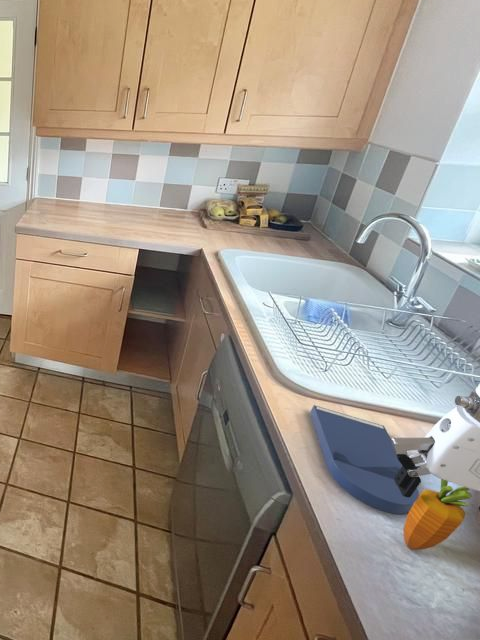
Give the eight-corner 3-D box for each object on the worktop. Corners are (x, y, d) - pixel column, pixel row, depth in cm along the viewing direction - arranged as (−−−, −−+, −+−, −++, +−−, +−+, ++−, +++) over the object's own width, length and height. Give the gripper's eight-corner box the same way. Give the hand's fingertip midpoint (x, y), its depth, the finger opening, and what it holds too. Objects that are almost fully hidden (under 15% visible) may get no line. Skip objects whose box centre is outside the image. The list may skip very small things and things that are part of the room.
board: (378, 434, 87) (384, 425, 86) (425, 526, 69) (433, 516, 68) (309, 413, 92) (313, 404, 91) (336, 494, 74) (342, 484, 73)
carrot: (385, 526, 69) (430, 463, 63) (426, 544, 67) (477, 481, 60) (391, 551, 66) (439, 487, 59) (435, 571, 63) (489, 507, 57)
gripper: (434, 411, 55) (377, 498, 62) (634, 466, 48) (544, 557, 55) (411, 378, 61) (361, 460, 68) (585, 423, 54) (509, 509, 61)
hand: (443, 503), depth 62 cm, fingers open, 9 cm apart
